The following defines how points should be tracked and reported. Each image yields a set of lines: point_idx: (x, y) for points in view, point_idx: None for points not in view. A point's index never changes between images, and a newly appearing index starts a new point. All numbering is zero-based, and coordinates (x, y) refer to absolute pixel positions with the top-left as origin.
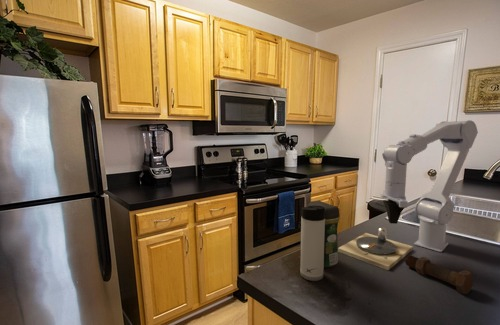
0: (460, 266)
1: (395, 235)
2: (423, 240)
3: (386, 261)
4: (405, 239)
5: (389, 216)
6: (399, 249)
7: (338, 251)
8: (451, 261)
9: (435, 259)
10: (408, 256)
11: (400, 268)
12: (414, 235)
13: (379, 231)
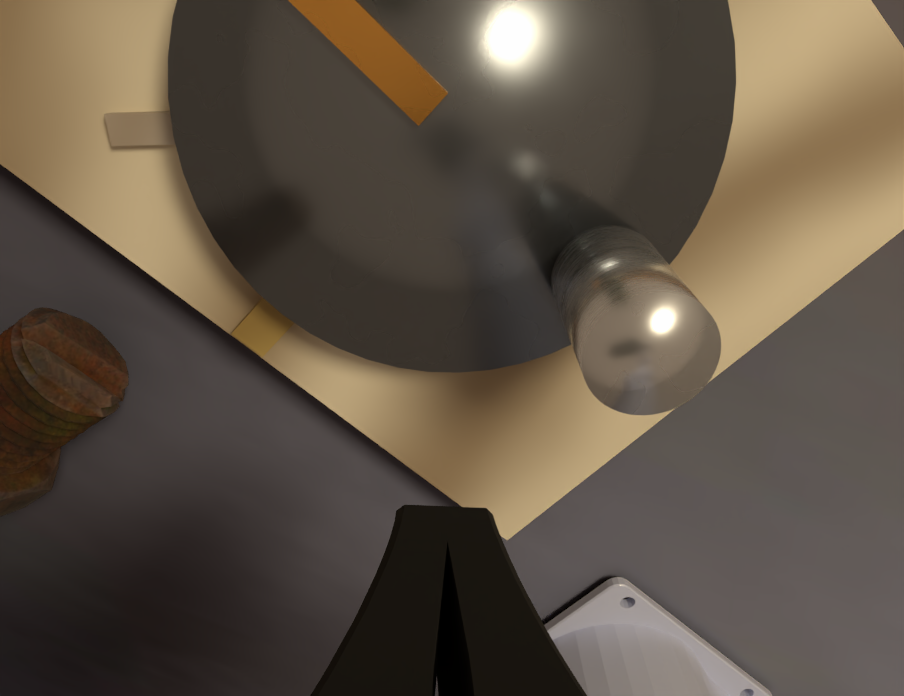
0: (228, 689)
1: (877, 508)
2: (584, 673)
3: (17, 99)
4: (758, 554)
5: (369, 609)
6: (414, 389)
7: None
8: (304, 676)
9: (319, 597)
10: (25, 374)
11: (25, 229)
12: (840, 658)
13: (621, 281)
